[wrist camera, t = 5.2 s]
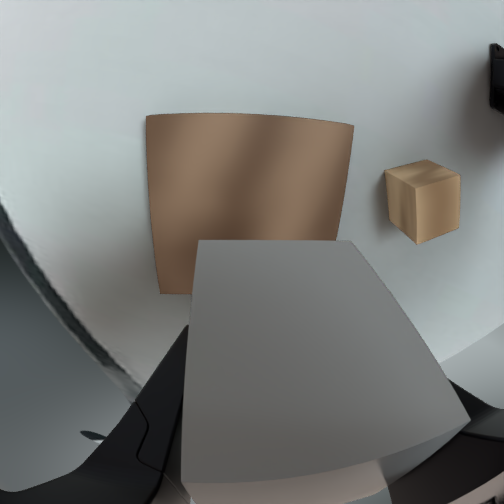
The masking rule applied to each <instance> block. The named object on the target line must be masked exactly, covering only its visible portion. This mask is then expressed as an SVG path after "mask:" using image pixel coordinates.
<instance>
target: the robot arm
mask: <svg viewBox="0 0 504 504" xmlns="http://www.w3.org/2000/svg"><path fill="white" fill-rule="evenodd" d="M491 48H492V74H491V95H490V106H491V108H492V109H494V110H496V111H498V112H499V113H501V114H503V115H504V49H503V48H502V47H501V46H500V45H498V44H497V43H493V44H492V46H491ZM188 330H189V325H186V326H185V328H184V329H183V331H182V332H181V333H180V335H179V336H178V338H177V339H176V341H175V342H174V344H173V345H172V346H171V348H170V349H169V351H168V352H167V354H166V355H165V357H164V358H163V360H162V361H161V362H160V364H159V365H158V367H157V368H156V370H155V371H154V373H153V374H152V376H151V377H150V379H149V380H148V381H147V383H146V384H145V386H144V387H143V389H142V390H141V392H140V393H139V395H138V396H137V398H136V399H135V402H133V403H132V405H131V406H130V408H129V409H128V411H127V412H126V414H125V415H124V416H123V418H122V419H121V420H120V422H119V423H118V424H117V426H116V427H115V428H114V429H113V430H112V432H111V433H110V434H109V435H108V436H107V437H106V438H105V439H104V441H103V442H102V443H101V444H100V445H99V446H98V447H97V448H96V449H95V450H94V452H93V453H92V454H91V455H90V456H89V457H88V458H87V459H86V460H85V462H84V463H83V464H82V465H80V466H79V467H78V468H77V469H75V470H74V471H72V472H70V473H69V474H66V475H64V476H61V477H59V478H56V479H53V480H51V481H48V482H46V483H43V484H40V485H37V486H34V487H31V488H28V489H25V490H22V491H18V492H7V491H4V490H1V489H0V504H190V498H191V496H190V495H189V493H188V492H187V490H186V489H185V487H184V486H183V484H182V483H181V447H182V419H183V399H184V382H185V367H186V354H187V342H188ZM448 380H449V379H448ZM449 382H450V384H451V385H452V387H453V389H454V390H455V392H456V394H457V396H458V397H459V399H460V401H461V403H462V405H463V406H464V408H465V410H466V412H467V414H468V416H469V417H470V419H471V421H470V422H469V423H468V424H467V425H465V426H464V427H463V428H462V429H461V430H460V431H459V432H458V433H457V434H456V435H455V436H454V437H452V438H451V439H450V440H449V441H448V442H447V443H445V444H444V445H443V446H442V447H441V448H440V449H438V450H437V451H436V452H435V453H433V454H432V455H431V456H430V457H428V458H427V459H426V460H424V461H423V462H422V463H420V464H419V465H418V466H416V467H415V468H414V469H412V470H411V471H409V472H408V473H407V474H405V475H404V476H402V477H401V478H399V479H398V480H396V481H395V482H393V483H392V484H390V485H389V486H388V489H389V493H390V497H391V501H392V504H504V409H499V408H495V407H492V406H490V405H488V404H487V403H485V402H483V401H482V400H480V399H478V398H477V397H475V396H474V395H472V394H471V393H469V392H467V391H466V390H464V389H463V388H461V387H460V386H458V385H456V384H455V383H454V382H452V381H451V380H449Z"/></svg>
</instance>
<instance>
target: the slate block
mask: <svg viewBox="0 0 504 504" xmlns="http://www.w3.org/2000/svg"><path fill="white" fill-rule="evenodd" d="M470 421H471V419H470V417H469V416H468V414H467V412H466V410H465V408H464V406H463V405H462V403H461V401H460V399H459V397H458V396H457V394H456V392H455V390H454V389H453V387H452V385H451V384H450V382H449V380H448V378H447V377H446V375H445V374H444V372H443V370H442V369H441V367H440V365H439V364H438V362H437V360H436V359H435V357H434V356H433V354H432V353H431V351H430V349H429V348H428V346H427V345H426V343H425V342H424V340H423V339H422V337H421V336H420V334H419V333H418V331H417V330H416V328H415V327H414V325H413V324H412V322H411V321H410V319H409V318H408V316H407V315H406V314H405V312H404V311H403V309H402V308H401V306H400V305H399V304H398V302H397V301H396V299H395V298H394V297H393V295H392V294H391V292H390V291H389V290H388V288H387V287H386V286H385V284H384V283H383V281H382V280H381V279H380V277H379V276H378V275H377V273H376V272H375V271H374V269H373V268H372V267H371V266H370V264H369V263H368V262H367V260H366V259H365V258H364V256H363V255H362V254H361V253H360V251H359V250H358V249H357V248H356V246H355V245H354V244H353V243H352V241H318V240H199V241H198V249H197V256H196V265H195V273H194V281H193V290H192V300H191V309H190V320H189V330H188V342H187V354H186V367H185V382H184V399H183V419H182V447H181V483H182V484H183V486H184V487H185V489H186V490H187V492H188V493H189V495H190V496H191V497H192V499H193V500H194V502H195V503H196V504H343V503H347V502H351V501H354V500H358V499H361V498H364V497H367V496H370V495H374V494H376V493H377V492H379V491H380V490H382V489H384V488H385V487H387V486H389V485H390V484H392V483H393V482H395V481H396V480H398V479H399V478H401V477H402V476H404V475H405V474H407V473H408V472H409V471H411V470H412V469H414V468H415V467H416V466H418V465H419V464H420V463H422V462H423V461H424V460H426V459H427V458H428V457H430V456H431V455H432V454H433V453H435V452H436V451H437V450H438V449H440V448H441V447H442V446H443V445H444V444H445V443H447V442H448V441H449V440H450V439H451V438H452V437H454V436H455V435H456V434H457V433H458V432H459V431H460V430H461V429H462V428H463V427H464V426H465V425H467V424H468V423H469V422H470Z"/></svg>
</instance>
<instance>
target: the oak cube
mask: <svg viewBox="0 0 504 504" xmlns="http://www.w3.org/2000/svg"><path fill="white" fill-rule="evenodd" d="M384 172H385V180H386V189H387V198H388V209H389V220H390V221H391V222H392V223H393V224H394V225H396V226H397V227H398V228H399V229H400V230H401V231H402V232H403V233H405V234H406V235H407V236H408V237H409V238H410V239H411V240H412V241H413V242H414V243H415V244H420V243H423V242H425V241H428V240H430V239H433V238H435V237H438V236H440V235H443V234H445V233H448V232H450V231H453V230H455V229H458V228H459V218H460V175H459V174H457V173H455V172H453V171H451V170H449V169H447V168H445V167H442V166H440V165H438V164H436V163H434V162H431V161H429V160H423V161H419V162H415V163H411V164H407V165H403V166H399V167H395V168H392V169H388V170H384Z"/></svg>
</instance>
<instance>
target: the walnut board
mask: <svg viewBox="0 0 504 504" xmlns="http://www.w3.org/2000/svg"><path fill="white" fill-rule="evenodd" d="M353 132H354V126H353V125H350V124H345V123H339V122H332V121H325V120H317V119H308V118H299V117H289V116H277V115H262V114H242V113H178V114H158V115H149V116H146V147H147V172H148V189H149V203H150V215H151V225H152V235H153V244H154V253H155V261H156V269H157V276H158V283H159V290H160V294H192V290H193V281H194V273H195V265H196V256H197V249H198V241H199V240H318V241H336V237H337V232H338V227H339V222H340V217H341V211H342V205H343V200H344V194H345V188H346V182H347V175H348V169H349V162H350V155H351V147H352V140H353Z"/></svg>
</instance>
